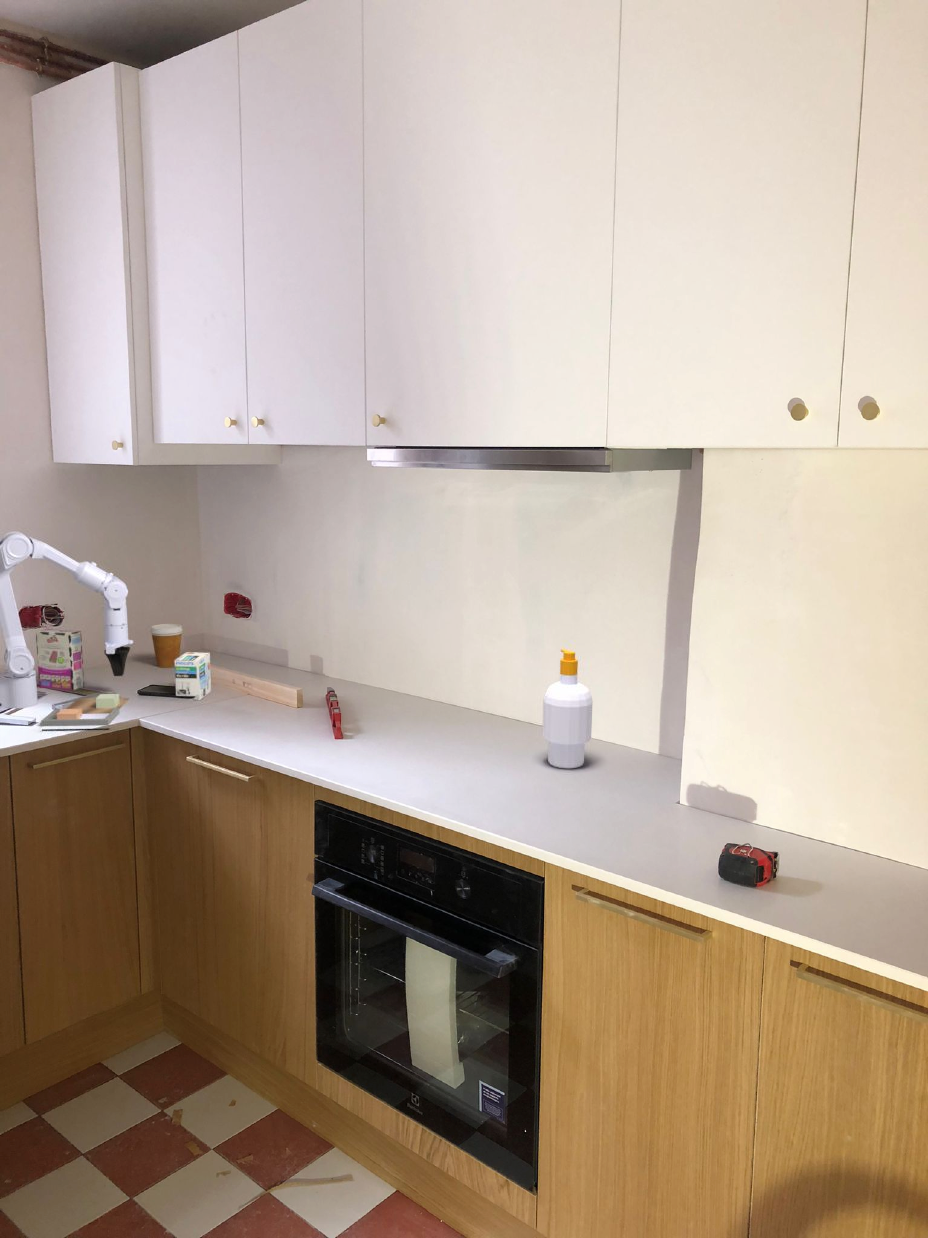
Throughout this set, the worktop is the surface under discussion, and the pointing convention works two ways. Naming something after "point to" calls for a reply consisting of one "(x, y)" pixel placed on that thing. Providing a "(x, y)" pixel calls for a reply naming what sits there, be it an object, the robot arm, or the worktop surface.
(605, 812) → the worktop surface
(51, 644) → the candy bar box
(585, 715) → the soap bottle
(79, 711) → the terracotta tile
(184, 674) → the light bulb box
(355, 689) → the worktop surface
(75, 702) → the walnut board
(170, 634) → the disposable coffee cup
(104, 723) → the tray
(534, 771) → the worktop surface
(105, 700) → the sage-green tile
